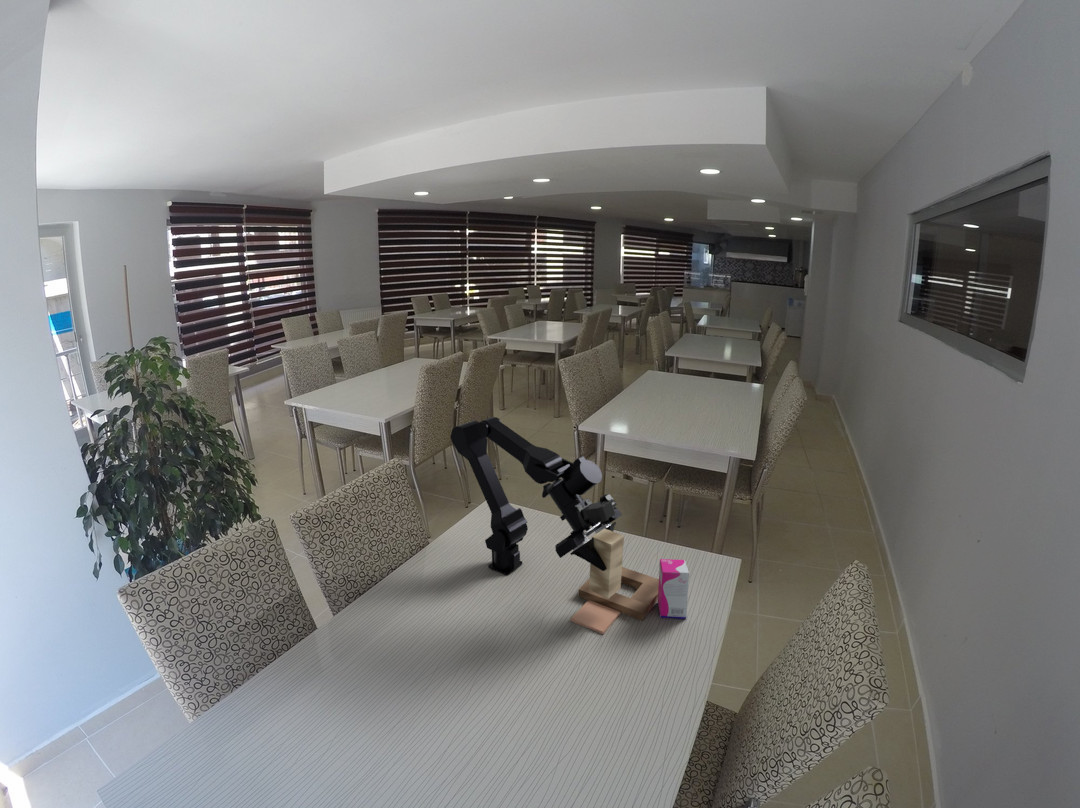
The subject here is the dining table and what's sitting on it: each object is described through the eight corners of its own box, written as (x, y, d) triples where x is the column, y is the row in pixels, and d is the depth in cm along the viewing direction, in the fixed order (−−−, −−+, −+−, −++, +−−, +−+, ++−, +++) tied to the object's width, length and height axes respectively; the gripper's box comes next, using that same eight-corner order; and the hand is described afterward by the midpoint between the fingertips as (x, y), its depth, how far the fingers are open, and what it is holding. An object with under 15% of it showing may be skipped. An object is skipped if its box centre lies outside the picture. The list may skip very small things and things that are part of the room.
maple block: (589, 589, 125) (591, 536, 122) (601, 580, 129) (604, 528, 126) (608, 598, 122) (611, 544, 119) (620, 588, 126) (624, 535, 123)
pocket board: (578, 596, 133) (578, 589, 132) (606, 568, 144) (606, 561, 143) (642, 620, 124) (642, 613, 124) (666, 589, 135) (666, 581, 135)
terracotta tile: (570, 620, 124) (570, 618, 124) (588, 602, 131) (588, 599, 131) (603, 634, 120) (603, 631, 120) (620, 614, 126) (620, 611, 126)
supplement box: (682, 603, 130) (686, 559, 127) (686, 619, 125) (690, 574, 121) (656, 601, 131) (659, 557, 128) (659, 618, 125) (662, 572, 122)
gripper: (567, 502, 115) (612, 569, 111) (616, 473, 129) (657, 532, 125) (537, 525, 122) (578, 589, 118) (586, 495, 135) (624, 552, 132)
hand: (611, 564), depth 123 cm, fingers closed on maple block, 5 cm apart
